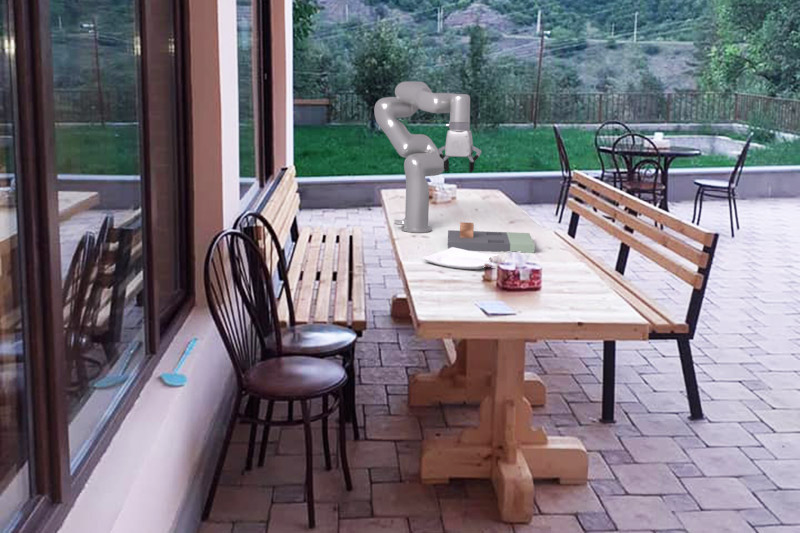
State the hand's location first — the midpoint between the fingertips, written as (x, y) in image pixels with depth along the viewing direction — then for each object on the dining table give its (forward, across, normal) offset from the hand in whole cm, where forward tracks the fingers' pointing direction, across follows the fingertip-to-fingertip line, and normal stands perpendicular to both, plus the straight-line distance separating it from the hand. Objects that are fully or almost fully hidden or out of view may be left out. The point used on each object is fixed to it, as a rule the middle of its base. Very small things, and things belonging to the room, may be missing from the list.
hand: (458, 171), depth 350 cm
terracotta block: (+24, +5, -6) cm, 25 cm away
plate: (+28, +13, -38) cm, 49 cm away
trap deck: (+27, +14, -3) cm, 31 cm away
